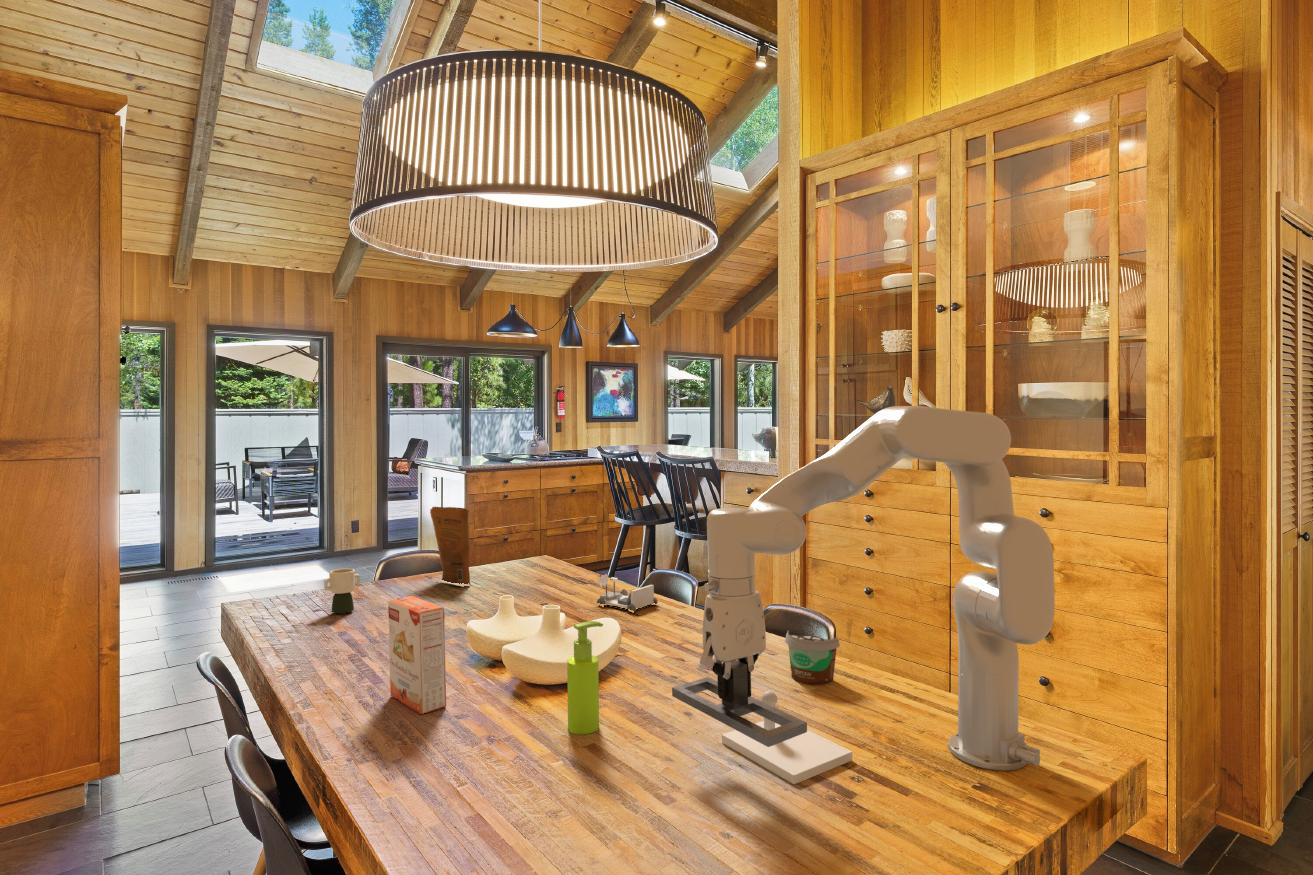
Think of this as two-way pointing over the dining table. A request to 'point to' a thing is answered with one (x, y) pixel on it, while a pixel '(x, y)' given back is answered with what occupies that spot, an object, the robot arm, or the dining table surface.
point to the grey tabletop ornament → (632, 601)
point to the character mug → (342, 589)
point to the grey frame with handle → (741, 708)
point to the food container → (812, 658)
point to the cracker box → (417, 653)
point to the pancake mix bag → (452, 542)
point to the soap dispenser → (583, 684)
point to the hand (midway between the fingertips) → (734, 696)
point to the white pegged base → (789, 751)
